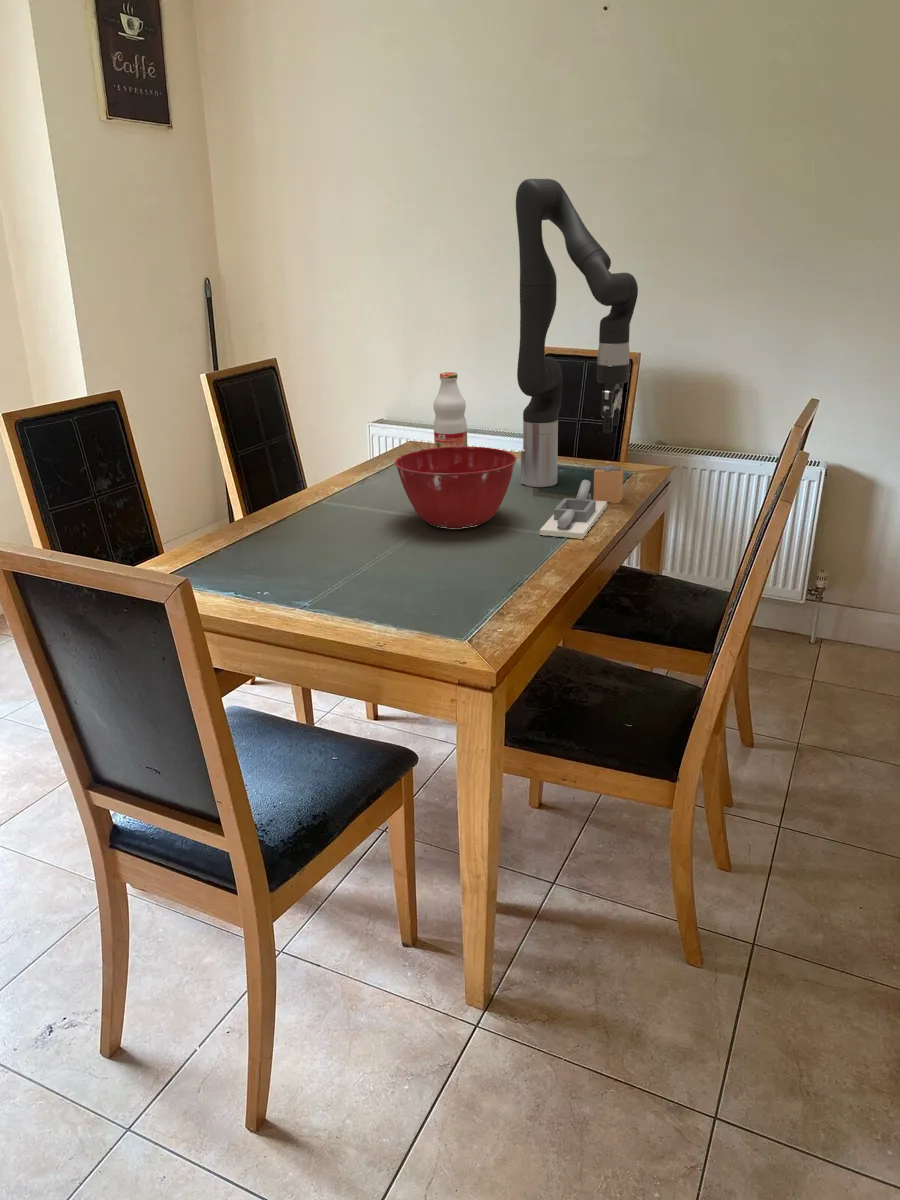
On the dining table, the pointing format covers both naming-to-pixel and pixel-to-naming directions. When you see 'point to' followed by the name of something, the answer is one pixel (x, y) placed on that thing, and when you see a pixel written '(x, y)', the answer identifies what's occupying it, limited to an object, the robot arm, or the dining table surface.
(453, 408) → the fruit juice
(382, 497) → the dining table surface
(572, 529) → the shaft rig
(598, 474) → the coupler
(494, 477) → the mixing bowl
